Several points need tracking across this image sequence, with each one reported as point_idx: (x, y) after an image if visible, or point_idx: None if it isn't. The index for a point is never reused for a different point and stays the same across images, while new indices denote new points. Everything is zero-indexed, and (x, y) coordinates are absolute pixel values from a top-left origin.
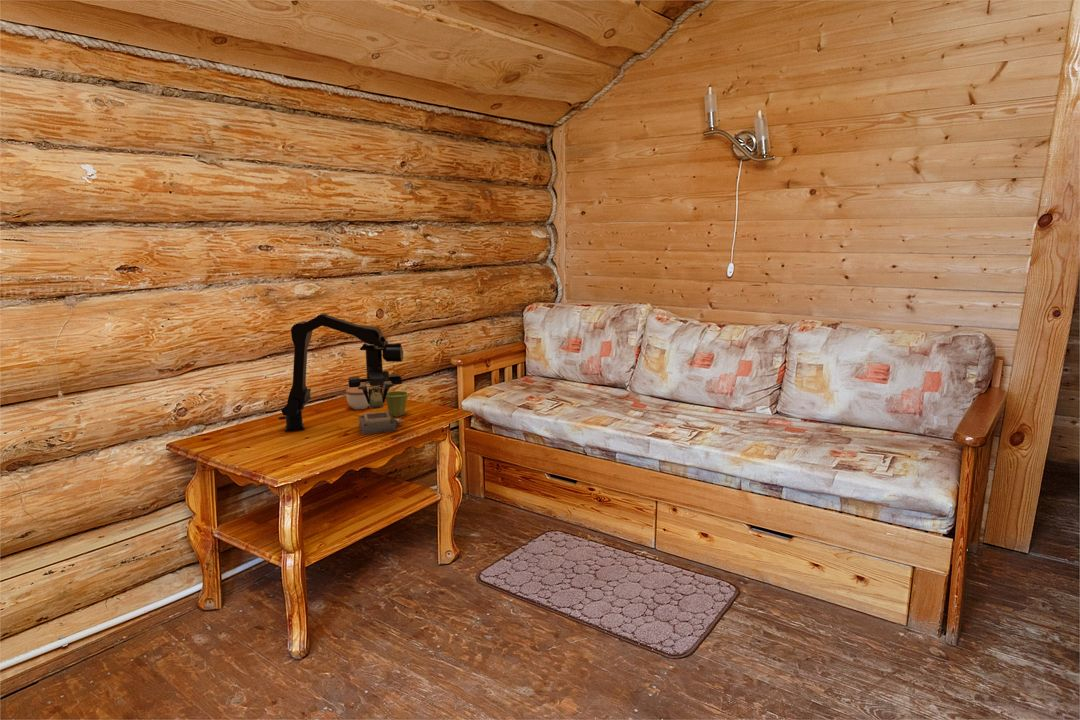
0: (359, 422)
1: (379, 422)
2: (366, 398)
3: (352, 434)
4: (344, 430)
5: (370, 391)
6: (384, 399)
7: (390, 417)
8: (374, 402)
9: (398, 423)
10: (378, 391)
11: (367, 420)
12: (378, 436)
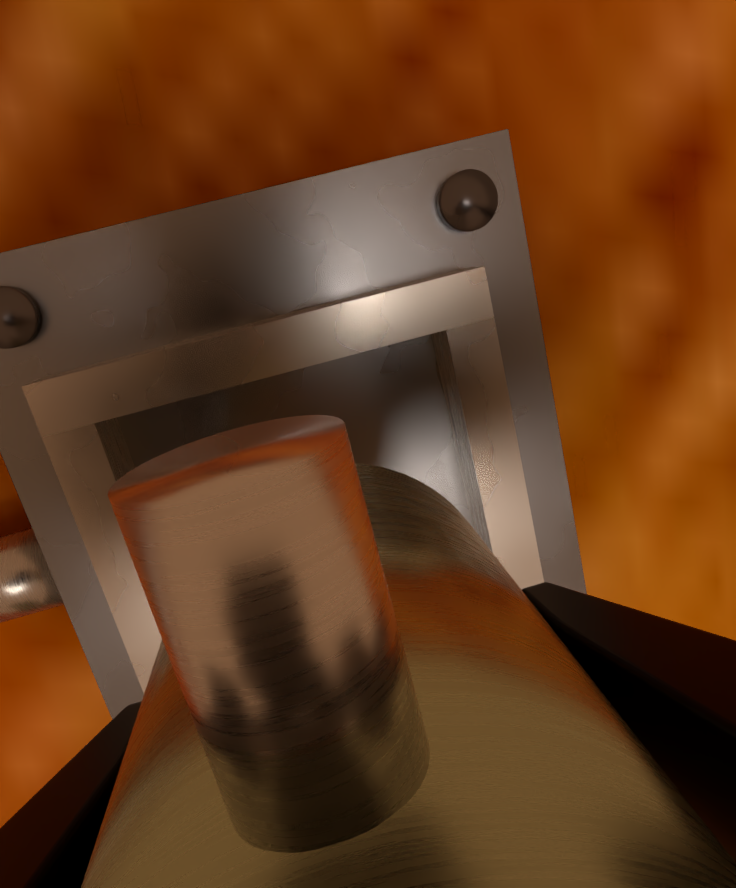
0: None
1: (244, 326)
2: (675, 623)
3: (599, 183)
4: (707, 376)
5: (695, 837)
6: (84, 759)
7: (36, 410)
8: (372, 518)
9: (6, 535)
10: (186, 876)
11: (449, 276)
12: (217, 22)
